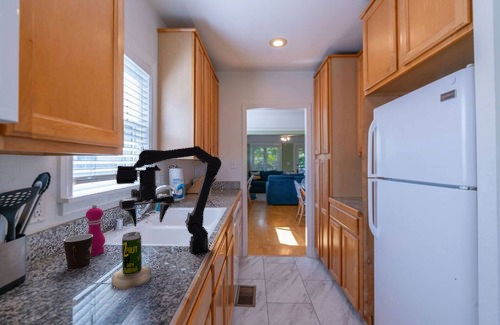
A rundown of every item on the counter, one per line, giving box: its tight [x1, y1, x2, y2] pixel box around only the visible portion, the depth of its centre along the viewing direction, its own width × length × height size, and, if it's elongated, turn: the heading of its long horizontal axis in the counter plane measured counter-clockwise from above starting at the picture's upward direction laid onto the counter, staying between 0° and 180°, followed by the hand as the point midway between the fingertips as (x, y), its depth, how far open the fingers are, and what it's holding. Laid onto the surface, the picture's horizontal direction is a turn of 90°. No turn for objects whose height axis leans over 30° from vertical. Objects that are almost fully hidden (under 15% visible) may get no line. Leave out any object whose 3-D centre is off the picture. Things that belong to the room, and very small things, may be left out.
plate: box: [111, 265, 152, 290], centre depth 74 cm, size 11×11×2 cm
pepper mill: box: [85, 203, 106, 257], centre depth 97 cm, size 7×7×20 cm
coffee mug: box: [63, 233, 93, 271], centre depth 83 cm, size 12×9×10 cm
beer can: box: [121, 231, 143, 277], centre depth 74 cm, size 5×5×12 cm
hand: (148, 224), depth 90 cm, fingers open, 9 cm apart
